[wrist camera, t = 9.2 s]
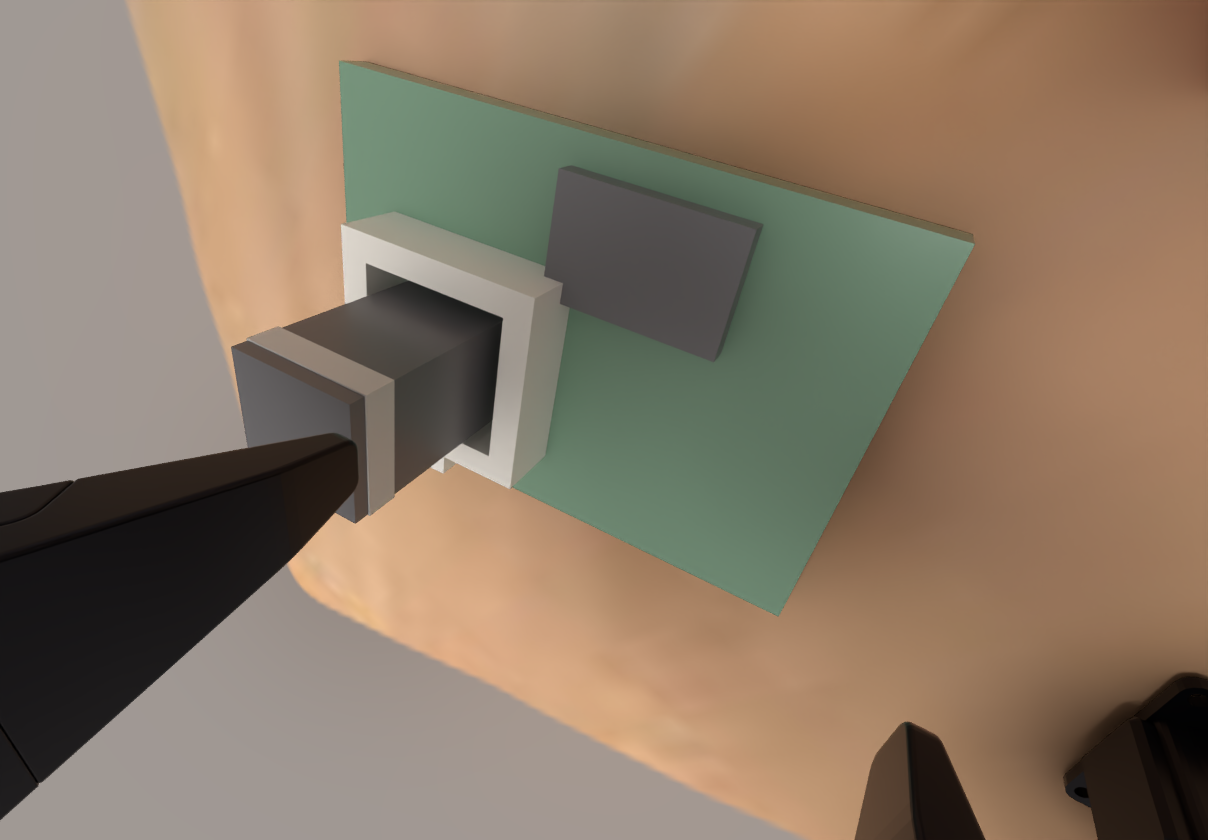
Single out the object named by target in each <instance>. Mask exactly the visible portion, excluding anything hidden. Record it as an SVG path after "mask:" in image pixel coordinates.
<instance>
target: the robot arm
mask: <svg viewBox="0 0 1208 840" xmlns="http://www.w3.org/2000/svg"><path fill="white" fill-rule="evenodd" d="M358 482H359V460H358V447H357V445H356V443H355V442H354V441H353V440H351V439H349V438H347V437H345V436H343V435H341V434H338V433H326V434H321V435H315V436H310V437H304V438H299V439H293V440H288V441H283V442H277V443H272V444H266V445H261V446H255V447H250V448H245V449H239V450H233V451H228V452H222V453H217V454H211V455H206V456H201V457H195V458H190V459H184V460H179V461H173V462H168V463H162V464H157V465H151V466H146V467H140V468H135V469H129V470H124V471H118V472H113V473H108V474H102V475H96V476H91V477H86V478H80V479H77V480H76V481H71V480H69V481H63V482H58V483H53V484H47V485H42V486H36V487H30V488H24V489H18V490H13V491H6V492H1V493H0V820H1V819H2V818H3V817H4V816H5V815H7V814H8V813H9V812H10V811H11V810H12V809H13V808H14V807H16V806H17V805H18V804H19V803H20V802H21V801H22V800H23V799H24V798H25V797H27V796H28V795H29V794H30V793H31V792H32V791H33V790H35V788H37V787H38V785H39V783H41V782H43V781H44V780H45V779H46V778H48V777H49V776H50V775H51V774H52V773H53V772H54V771H55V770H56V769H58V768H59V767H60V766H61V765H62V764H63V763H64V762H65V761H66V760H68V759H69V758H70V757H71V756H72V755H73V754H74V753H75V752H77V751H78V750H79V749H80V748H81V747H82V746H83V745H84V744H86V743H87V742H88V740H90V739H91V738H92V737H93V736H94V735H96V734H97V733H98V732H99V731H100V730H101V729H102V728H103V727H105V726H106V725H107V724H108V723H109V722H110V721H111V720H112V719H114V718H115V717H116V716H117V715H118V714H119V713H120V712H121V711H122V710H123V709H125V708H126V707H127V706H128V705H129V704H130V703H131V702H133V701H134V700H135V699H136V698H137V697H138V696H139V695H140V694H142V693H143V692H144V691H145V690H146V689H147V688H148V687H149V686H150V685H152V684H153V683H154V682H155V681H156V680H157V679H158V678H159V677H161V676H162V675H163V674H164V673H165V672H166V671H167V670H168V669H169V668H171V667H172V666H173V665H174V664H175V663H176V662H177V661H178V660H179V659H181V658H182V657H183V656H184V655H185V654H186V653H187V652H188V651H190V650H191V649H192V648H193V647H194V646H195V645H196V644H197V643H199V642H200V641H201V640H202V639H203V638H204V637H205V636H206V635H208V634H209V633H210V632H211V631H212V630H213V629H214V628H215V627H216V626H217V625H219V624H220V623H221V622H222V621H223V620H224V619H225V618H227V617H228V616H229V615H230V614H231V613H232V612H233V611H234V610H236V608H238V607H239V606H240V605H241V604H242V603H243V602H244V601H246V600H247V599H248V598H249V597H250V596H251V595H252V594H253V593H255V592H256V591H257V590H258V589H259V588H260V587H261V586H262V585H263V584H265V583H266V582H267V581H268V580H269V579H270V578H271V577H272V576H274V575H275V574H276V573H277V572H278V571H279V570H280V569H281V568H282V567H284V566H285V565H286V564H287V563H288V562H289V561H290V560H291V559H292V558H293V557H294V556H295V555H296V554H297V553H298V552H299V551H300V550H301V549H302V548H303V547H304V546H305V545H306V543H307V542H308V541H309V540H310V539H311V538H312V537H313V536H314V535H315V534H316V533H317V532H318V530H319V529H320V528H321V527H322V526H323V525H324V524H325V523H326V522H327V521H328V520H329V519H330V517H331V516H332V515H333V514H334V513H335V512H336V511H337V510H338V509H339V508H340V507H341V506H342V504H343V503H344V502H345V501H346V500H347V499H348V498H349V497H350V496H351V495H352V494H353V492H354V491H355V489H356V488H357V485H358ZM1193 694H1201V695H1202V696H1195V697H1194V696H1191V695H1193ZM1063 778H1064V784H1065V790H1066V793H1067V794H1068V795H1069V796H1070V797H1071V798H1073V799H1074V800H1076V801H1078V802H1080V803H1082V804H1084V805H1086V806H1088V807H1090V808H1091V809H1092V814H1093V819H1094V823H1095V828H1096V833H1097V837H1098V840H1208V680H1205V679H1201V678H1197V677H1186V678H1181V679H1179V680H1177V681H1175V682H1174V683H1173V684H1172V685H1171V686H1169V687H1168V688H1167V689H1166V690H1165V691H1163V692H1162V693H1161V694H1160V695H1159V696H1158V697H1156V698H1155V699H1154V700H1153V701H1152V702H1150V703H1149V704H1148V705H1147V706H1146V707H1144V708H1143V709H1142V710H1141V711H1140V712H1139V713H1137V714H1136V715H1135V716H1134V717H1133V718H1131V719H1129V720H1126V721H1125V722H1124V723H1123V724H1122V725H1120V726H1119V727H1118V728H1117V729H1116V730H1115V731H1113V732H1112V733H1111V734H1110V735H1109V736H1108V737H1106V738H1105V739H1104V740H1103V741H1102V742H1100V743H1099V744H1098V745H1097V746H1096V747H1095V748H1093V749H1092V750H1091V751H1090V752H1089V753H1087V754H1086V755H1085V756H1084V757H1083V758H1082V760H1081V761H1080V762H1079V763H1078V764H1077V765H1076V766H1075V767H1073V768H1072V769H1071V770H1070V771H1069V772H1067V773H1066V774H1065V776H1064V777H1063ZM855 840H985V838H984V835H983V833H982V831H981V829H980V826H979V824H978V822H977V819H976V817H975V815H974V813H973V810H972V808H971V806H970V804H969V801H968V799H967V797H966V795H965V792H964V790H963V788H962V786H961V783H960V781H959V779H958V777H957V774H956V772H955V770H954V768H953V765H952V763H951V761H950V759H949V756H948V754H947V752H946V750H945V747H944V745H943V743H942V741H941V740H940V739H939V737H938V736H936V735H935V734H933V733H931V732H929V731H927V730H925V729H924V728H922V727H920V726H918V725H916V724H914V723H912V722H908V721H907V722H903V723H902V724H900V725H899V727H898V728H897V729H896V730H895V731H894V733H893V734H892V735H891V736H890V737H889V739H888V740H887V741H886V742H885V744H884V745H883V746H882V747H881V748H880V750H879V751H878V752H877V754H876V756H875V758H874V760H873V762H872V765H871V769H870V773H869V777H868V782H867V786H866V791H865V795H864V800H863V804H862V809H861V813H860V818H859V822H858V827H857V831H856V836H855Z"/></svg>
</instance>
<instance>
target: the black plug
mask: <svg viewBox="0 0 1208 840" xmlns="http://www.w3.org/2000/svg"><path fill="white" fill-rule="evenodd" d="M502 323H503V318H502V317H500V316H497V315H495V314H492V313H490V312H487V311H485V310H482V309H480V308H477V307H475V306H472V305H470V304H467V303H464V302H462V301H459V300H457V299H454V298H452V297H449V296H447V295H444V294H442V293H439V292H437V291H434V290H432V289H429V288H427V287H424V286H422V285H419V284H417V283H414V282H412V281H406V282H404V283H401V284H398V285H396V286H393V287H390V288H388V289H385V290H382V291H379V292H377V293H374V294H371V295H369V296H366V297H363V298H361V299H358V300H355V301H353V302H350V303H347V304H345V305H342V306H339V307H337V308H334V309H331V310H329V311H326V312H323V313H320V314H318V315H315V316H312V317H310V318H307V319H304V320H302V321H299V322H296V323H294V324H291V325H288V326H286V327H283V328H281V327H279V326H278V327H275V328H273V329H270V330H267V331H265V332H262V333H259V334H256V335H254V336H251V337H248V338H247V341H245V342H243V343H240V344H237V345H235V346H232V347H231V349H232V355H233V361H234V367H235V373H236V379H237V385H238V392H239V398H240V404H241V410H242V416H243V422H244V428H245V434H246V440H247V445H248V448H250V447H255V446H261V445H266V444H272V443H277V442H283V441H288V440H293V439H299V438H304V437H310V436H315V435H321V434H326V433H338V434H341V435H343V436H345V437H347V438H349V439H351V440H353V441H354V442H355V443H356V445H357V447H358V460H359V482H358V485H357V488H356V489H355V491H354V492H353V494H352V495H351V496H350V497H349V498H348V499H347V500H346V501H345V502H344V503H343V504H342V506H341V507H340V508H339V509H338V510H337V511H336V512H335V513H337V514H339V515H341V516H342V517H344V518H346V519H348V520H350V521H351V522H353V523H355V524H356V523H357V522H358V521H360V520H361V519H362V518H364V517H365V516H366V515H369V516H370V515H372V514H373V513H374V512H376V511H377V510H378V509H380V508H381V507H382V506H383V505H385V504H386V503H387V502H389V501H390V500H391V499H393V498H394V497H395V493H397V492H398V491H399V490H401V489H402V488H403V487H405V486H406V485H407V484H409V483H410V482H411V481H413V480H414V479H415V478H417V477H418V476H419V475H421V474H422V473H423V472H424V471H426V470H427V469H428V468H430V467H431V466H432V465H434V464H435V463H436V462H438V461H439V460H440V459H442V458H443V457H444V456H446V455H447V454H448V453H450V452H451V451H452V450H454V449H455V448H456V447H458V446H459V445H460V444H462V443H463V442H464V441H465V440H467V439H468V438H469V437H471V436H472V435H473V434H475V433H476V432H477V431H479V430H480V429H481V428H483V427H484V426H485V425H487V424H488V423H489V422H491V421H492V420H493V411H494V401H495V392H496V382H497V372H498V362H499V352H500V343H501V333H502Z"/></svg>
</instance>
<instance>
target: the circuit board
mask: <svg viewBox="0 0 1208 840" xmlns="http://www.w3.org/2000/svg"><path fill="white" fill-rule="evenodd" d="M339 71H340V92H341V113H342V135H343V156H344V177H345V199H346V220H347V223H344V224H341V235H342V254H343V274H344V293H345V304H347V303H350V302H353V301H355V300H358V299H361V298H363V297H366V296H369V295H371V294H374V293H377V292H379V291H382V290H385V289H388V288H390V287H393V286H396V285H398V284H401V283H404V282H406V281H412V282H414V283H417V284H419V285H422V286H424V287H427V288H429V289H432V290H434V291H437V292H439V293H442V294H444V295H447V296H449V297H452V298H454V299H457V300H459V301H462V302H464V303H467V304H470V305H472V306H475V307H477V308H480V309H482V310H485V311H487V312H490V313H492V314H495V315H497V316H500V317H502V318H503V323H502V333H501V343H500V352H499V362H498V372H497V382H496V392H495V401H494V411H493V420H492V421H491V422H489V423H488V424H487V425H485V426H484V427H483V428H481V429H480V430H479V431H477V432H476V433H475V434H473V435H472V436H471V437H469V438H468V439H467V440H465V441H464V442H463V443H462V444H460V445H459V446H458V447H456V448H455V449H454V450H452V451H451V452H450V453H448V454H447V455H446V456H444V457H443V458H442V459H440V460H439V461H438V462H436V463H435V464H434V465H432V466H431V468H433V469H435V470H437V471H439V472H441V473H445V472H446V471H447V470H449V469H450V468H451V467H452V466H454V465H455V464H456V463H457V464H459V465H461V466H463V467H465V468H467V469H470V470H472V471H474V472H476V473H478V474H480V475H482V476H484V477H486V478H488V479H490V480H492V481H494V482H496V483H498V484H500V485H502V486H504V487H506V488H508V489H511V488H512V487H513V488H515V489H517V490H519V491H521V492H523V493H525V494H527V495H529V496H531V497H533V498H536V499H538V500H540V501H542V502H544V503H546V504H548V505H550V506H552V507H554V508H556V509H558V510H560V511H562V512H564V513H566V514H568V515H571V516H573V517H575V518H577V519H579V520H581V521H583V522H585V523H587V524H589V525H591V526H593V527H595V528H597V529H599V530H601V531H603V532H605V533H608V534H610V535H612V536H614V537H616V538H618V539H620V540H622V541H624V542H626V543H628V544H630V545H632V546H634V547H636V548H638V549H640V550H642V551H645V552H647V553H649V554H651V555H653V556H655V557H657V558H659V559H661V560H663V561H665V562H667V563H669V564H671V565H673V566H675V567H677V568H679V569H682V570H684V571H686V572H688V573H690V574H692V575H694V576H696V577H698V578H700V579H702V580H704V581H706V582H708V583H710V584H712V585H714V586H717V587H719V588H721V589H723V590H725V591H727V592H729V593H731V594H733V595H735V596H737V597H739V598H741V599H743V600H745V601H747V602H749V603H751V604H754V605H756V606H758V607H760V608H762V609H764V610H766V611H768V612H770V613H772V614H774V615H776V616H778V617H779V615H780V613H781V611H782V609H783V607H784V605H785V603H786V601H787V600H788V598H789V596H790V594H791V592H792V590H793V588H794V586H795V584H796V582H797V581H798V579H799V577H800V575H801V573H802V571H803V569H804V567H805V565H806V564H807V562H808V560H809V558H810V556H811V554H812V552H813V550H814V548H815V546H816V545H817V543H818V541H819V539H820V537H821V535H822V533H823V531H824V529H825V528H826V526H827V524H828V522H829V520H830V518H831V516H832V514H833V512H834V510H835V509H836V507H837V505H838V503H839V501H840V499H841V497H842V495H843V493H844V491H845V490H846V488H847V486H848V484H849V482H850V480H851V478H852V476H853V474H854V473H855V471H856V469H857V467H858V465H859V463H860V461H861V459H862V457H863V455H864V454H865V452H866V450H867V448H868V446H869V444H870V442H871V440H872V438H873V437H874V435H875V433H876V431H877V429H878V427H879V425H880V423H881V421H882V419H883V418H884V416H885V414H886V412H887V410H888V408H889V406H890V404H891V402H892V401H893V399H894V397H895V395H896V393H897V391H898V389H899V387H900V385H901V383H902V382H903V380H904V378H905V376H906V374H907V372H908V370H909V368H910V366H911V364H912V363H913V361H914V359H915V357H916V355H917V353H918V351H919V349H920V347H921V346H922V344H923V342H924V340H925V338H926V336H927V334H928V332H929V330H930V328H931V327H932V325H933V323H934V321H935V319H936V317H937V315H938V313H939V311H940V310H941V308H942V306H943V304H944V302H945V300H946V298H947V296H948V294H949V292H950V291H951V289H952V287H953V285H954V283H955V281H956V279H957V277H958V275H959V273H960V272H961V270H962V268H963V266H964V264H965V262H966V260H967V258H968V256H969V255H970V253H971V251H972V249H973V247H974V245H975V242H974V237H973V234H970V233H966V232H963V231H959V230H956V229H952V228H949V227H945V226H942V225H938V224H935V223H931V222H928V221H924V220H921V219H917V218H914V217H910V216H907V215H903V214H900V213H896V212H893V211H889V210H886V209H882V208H879V207H875V206H872V205H868V204H865V203H861V202H857V201H854V200H850V199H847V198H843V197H840V196H836V195H833V194H829V193H826V192H822V191H819V190H815V189H812V188H808V187H805V186H801V185H798V184H794V183H791V182H787V181H784V180H780V179H777V178H773V177H770V176H766V175H763V174H759V173H756V172H752V171H749V170H745V169H741V168H738V167H734V166H731V165H727V164H724V163H720V162H717V161H713V160H710V159H706V158H703V157H699V156H696V155H692V154H689V153H685V152H682V151H678V150H675V149H671V148H668V147H664V146H661V145H657V144H654V143H650V142H647V141H643V140H640V139H636V138H633V137H629V136H626V135H622V134H618V133H615V132H611V131H608V130H604V129H601V128H597V127H594V126H590V125H587V124H583V123H580V122H576V121H573V120H569V119H566V118H562V117H559V116H555V115H552V114H548V113H545V112H541V111H538V110H534V109H531V108H527V107H524V106H520V105H517V104H513V103H510V102H506V101H502V100H499V99H495V98H492V97H488V96H485V95H481V94H478V93H474V92H471V91H467V90H464V89H460V88H457V87H453V86H450V85H446V84H443V83H439V82H436V81H432V80H429V79H425V78H422V77H418V76H415V75H411V74H408V73H404V72H401V71H397V70H394V69H390V68H386V67H383V66H379V65H376V64H372V63H369V62H362V61H339Z"/></svg>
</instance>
